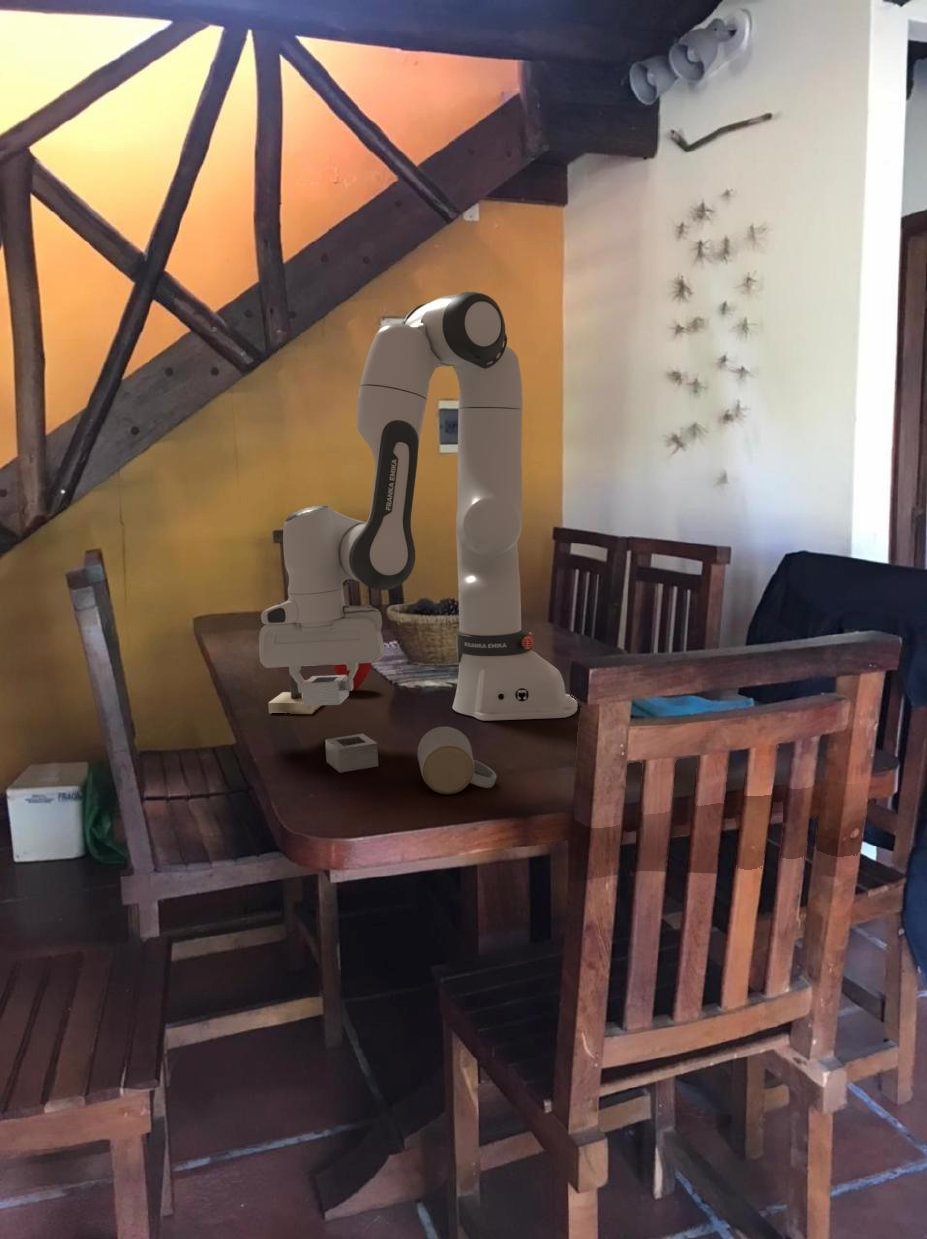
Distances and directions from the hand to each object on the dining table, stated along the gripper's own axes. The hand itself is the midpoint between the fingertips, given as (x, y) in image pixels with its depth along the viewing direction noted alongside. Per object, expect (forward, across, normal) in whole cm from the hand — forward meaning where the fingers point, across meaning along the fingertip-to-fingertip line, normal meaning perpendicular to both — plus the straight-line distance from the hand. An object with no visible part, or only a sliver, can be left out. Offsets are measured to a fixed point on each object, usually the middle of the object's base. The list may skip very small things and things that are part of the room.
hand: (326, 691), depth 159 cm
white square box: (+8, -7, +15) cm, 18 cm away
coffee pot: (+8, +25, -99) cm, 102 cm away
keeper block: (+7, +11, -18) cm, 22 cm away
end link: (+2, 0, 0) cm, 2 cm away
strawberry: (+8, +4, -32) cm, 33 cm away
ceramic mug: (+9, -24, +23) cm, 35 cm away
